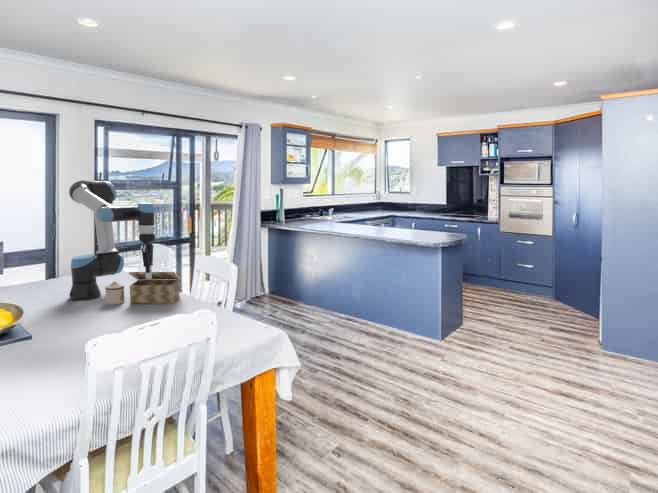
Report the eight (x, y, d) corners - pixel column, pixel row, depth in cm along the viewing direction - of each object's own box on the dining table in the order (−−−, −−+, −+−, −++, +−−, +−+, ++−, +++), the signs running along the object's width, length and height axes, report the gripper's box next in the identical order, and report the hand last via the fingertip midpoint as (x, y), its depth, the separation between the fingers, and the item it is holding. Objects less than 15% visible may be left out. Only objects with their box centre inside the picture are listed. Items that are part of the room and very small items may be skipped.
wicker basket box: (130, 304, 226) (129, 285, 224) (139, 297, 240) (138, 279, 238) (173, 303, 228) (172, 285, 227) (179, 296, 242) (179, 279, 241)
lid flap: (128, 273, 224) (128, 271, 225) (137, 279, 238) (137, 278, 238) (173, 273, 227) (174, 271, 227) (179, 279, 241) (180, 277, 241)
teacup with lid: (124, 304, 225) (123, 282, 224) (105, 305, 222) (103, 283, 220) (125, 298, 236) (124, 278, 235) (107, 300, 233) (106, 279, 231)
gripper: (150, 234, 212) (152, 281, 215) (158, 231, 225) (159, 275, 228) (135, 234, 211) (137, 281, 214) (143, 231, 224) (145, 275, 227)
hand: (148, 278), depth 221 cm, fingers closed
